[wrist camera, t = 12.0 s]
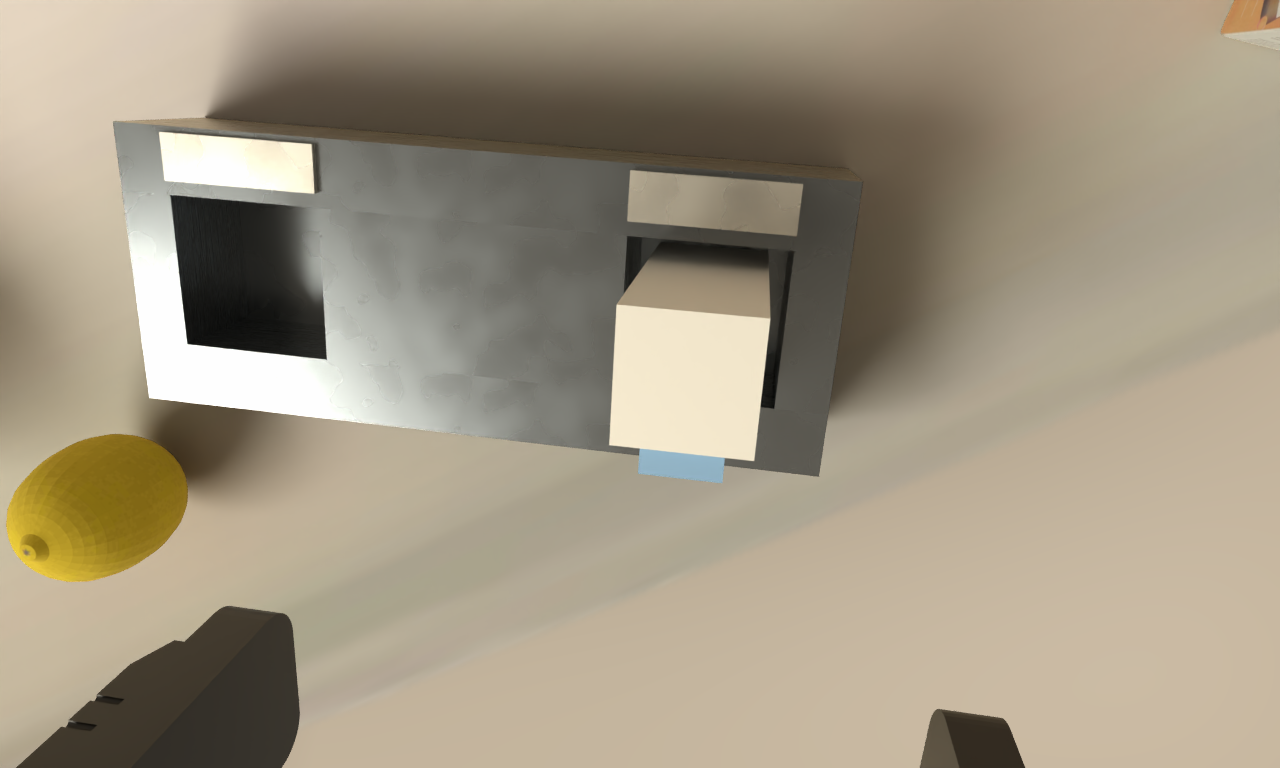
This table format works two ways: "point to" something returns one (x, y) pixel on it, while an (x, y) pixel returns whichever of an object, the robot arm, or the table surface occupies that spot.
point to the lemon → (97, 508)
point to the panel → (458, 275)
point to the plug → (691, 360)
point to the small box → (1254, 22)
